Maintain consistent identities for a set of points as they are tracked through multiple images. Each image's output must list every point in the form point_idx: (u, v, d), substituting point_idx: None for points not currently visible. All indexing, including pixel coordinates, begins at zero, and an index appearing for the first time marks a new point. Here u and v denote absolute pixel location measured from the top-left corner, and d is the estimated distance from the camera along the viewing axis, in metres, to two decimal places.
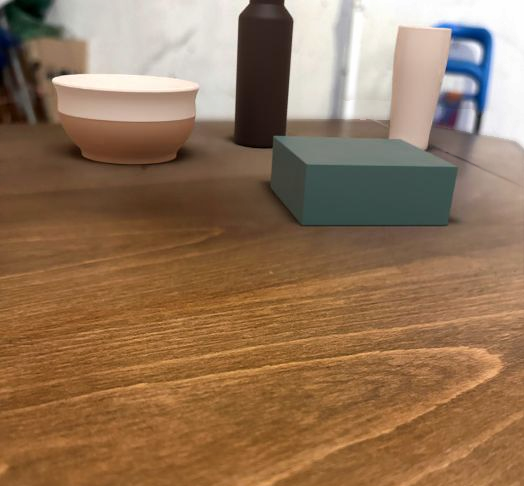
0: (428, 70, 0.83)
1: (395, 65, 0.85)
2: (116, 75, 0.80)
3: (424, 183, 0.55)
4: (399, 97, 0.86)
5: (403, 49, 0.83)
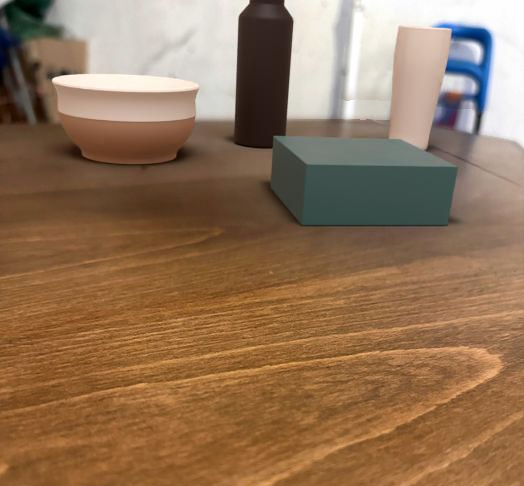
0: (428, 70, 0.83)
1: (395, 65, 0.85)
2: (116, 75, 0.80)
3: (424, 183, 0.55)
4: (399, 97, 0.86)
5: (403, 49, 0.83)
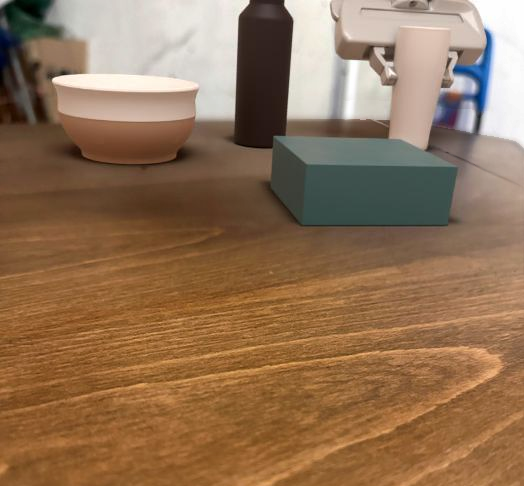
0: (428, 70, 0.83)
1: (395, 65, 0.85)
2: (116, 75, 0.80)
3: (424, 183, 0.55)
4: (399, 97, 0.86)
5: (403, 49, 0.83)
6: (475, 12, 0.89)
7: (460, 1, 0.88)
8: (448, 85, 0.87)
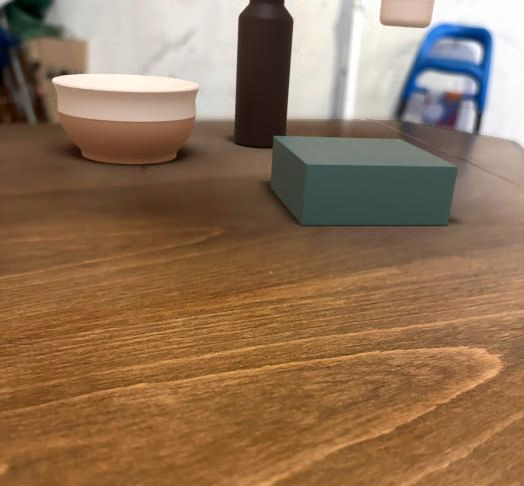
0: None
1: None
2: (116, 75, 0.80)
3: (424, 183, 0.55)
4: None
5: None
6: None
7: None
8: None
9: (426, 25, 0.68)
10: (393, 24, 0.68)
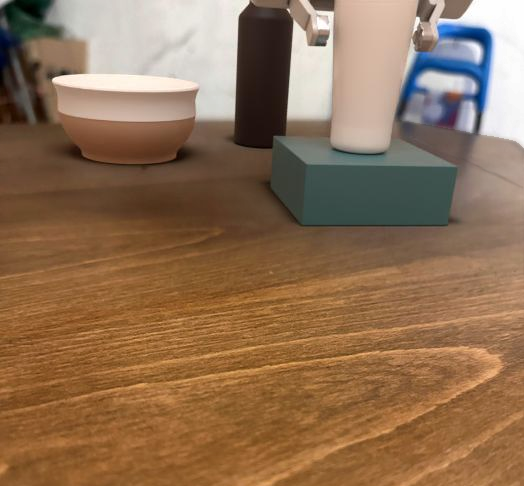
0: (386, 23, 0.52)
1: (336, 17, 0.54)
2: (116, 75, 0.80)
3: (424, 183, 0.55)
4: (343, 68, 0.55)
5: None
6: None
7: None
8: (430, 47, 0.56)
9: (383, 151, 0.58)
10: (345, 150, 0.58)
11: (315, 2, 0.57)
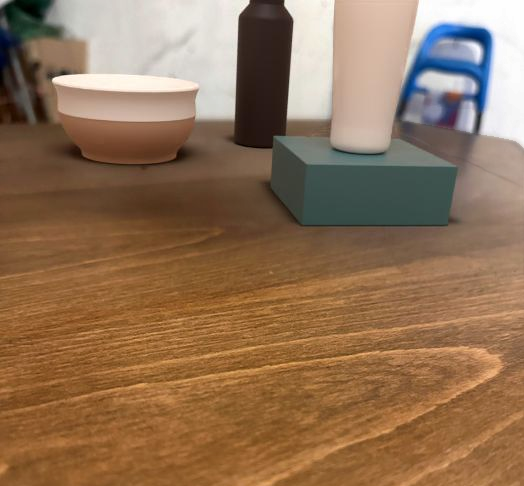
0: (386, 23, 0.52)
1: (336, 17, 0.54)
2: (116, 75, 0.80)
3: (424, 183, 0.55)
4: (343, 68, 0.55)
5: None
6: None
7: None
8: None
9: (383, 151, 0.58)
10: (345, 150, 0.58)
11: None
